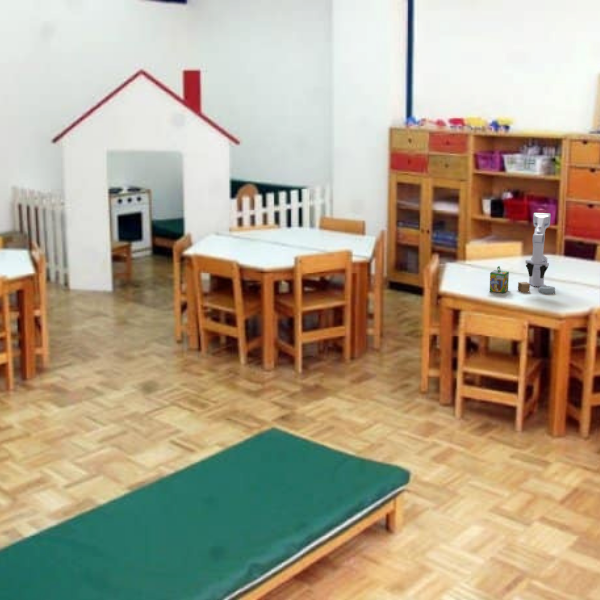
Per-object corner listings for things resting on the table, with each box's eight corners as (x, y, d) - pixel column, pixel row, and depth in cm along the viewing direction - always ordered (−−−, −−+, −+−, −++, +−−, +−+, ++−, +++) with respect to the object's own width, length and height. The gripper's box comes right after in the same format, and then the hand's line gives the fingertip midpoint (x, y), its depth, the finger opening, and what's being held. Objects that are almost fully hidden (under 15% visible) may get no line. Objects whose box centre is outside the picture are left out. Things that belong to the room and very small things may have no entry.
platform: (536, 291, 523) (536, 286, 522) (550, 290, 525) (550, 285, 524) (543, 294, 515) (543, 289, 514) (557, 293, 516) (557, 288, 516)
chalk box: (504, 293, 518) (505, 268, 514) (488, 291, 522) (490, 267, 519) (508, 290, 526) (509, 265, 522) (493, 288, 530) (494, 264, 526)
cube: (517, 290, 525) (518, 282, 524) (525, 290, 526) (526, 281, 525) (521, 292, 520) (522, 284, 519) (529, 291, 521) (529, 283, 520)
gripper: (523, 253, 514) (521, 276, 517) (544, 256, 504) (543, 279, 507) (529, 252, 519) (528, 274, 522) (551, 255, 508) (549, 278, 511)
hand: (536, 277), depth 515 cm, fingers open, 7 cm apart
